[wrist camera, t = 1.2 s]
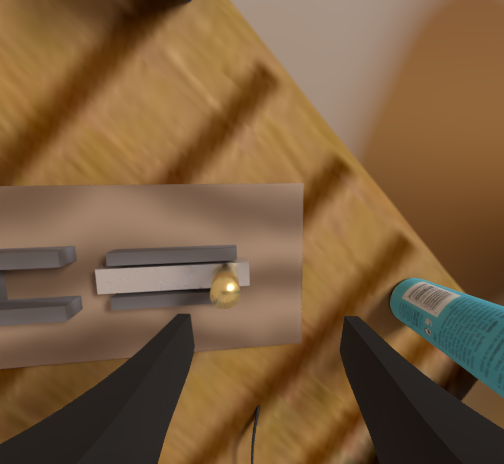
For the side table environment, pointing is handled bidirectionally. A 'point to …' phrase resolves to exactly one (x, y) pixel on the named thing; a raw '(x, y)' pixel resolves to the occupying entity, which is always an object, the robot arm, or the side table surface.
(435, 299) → the tube
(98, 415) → the robot arm
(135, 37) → the side table surface
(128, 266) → the bolt
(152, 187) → the door board
